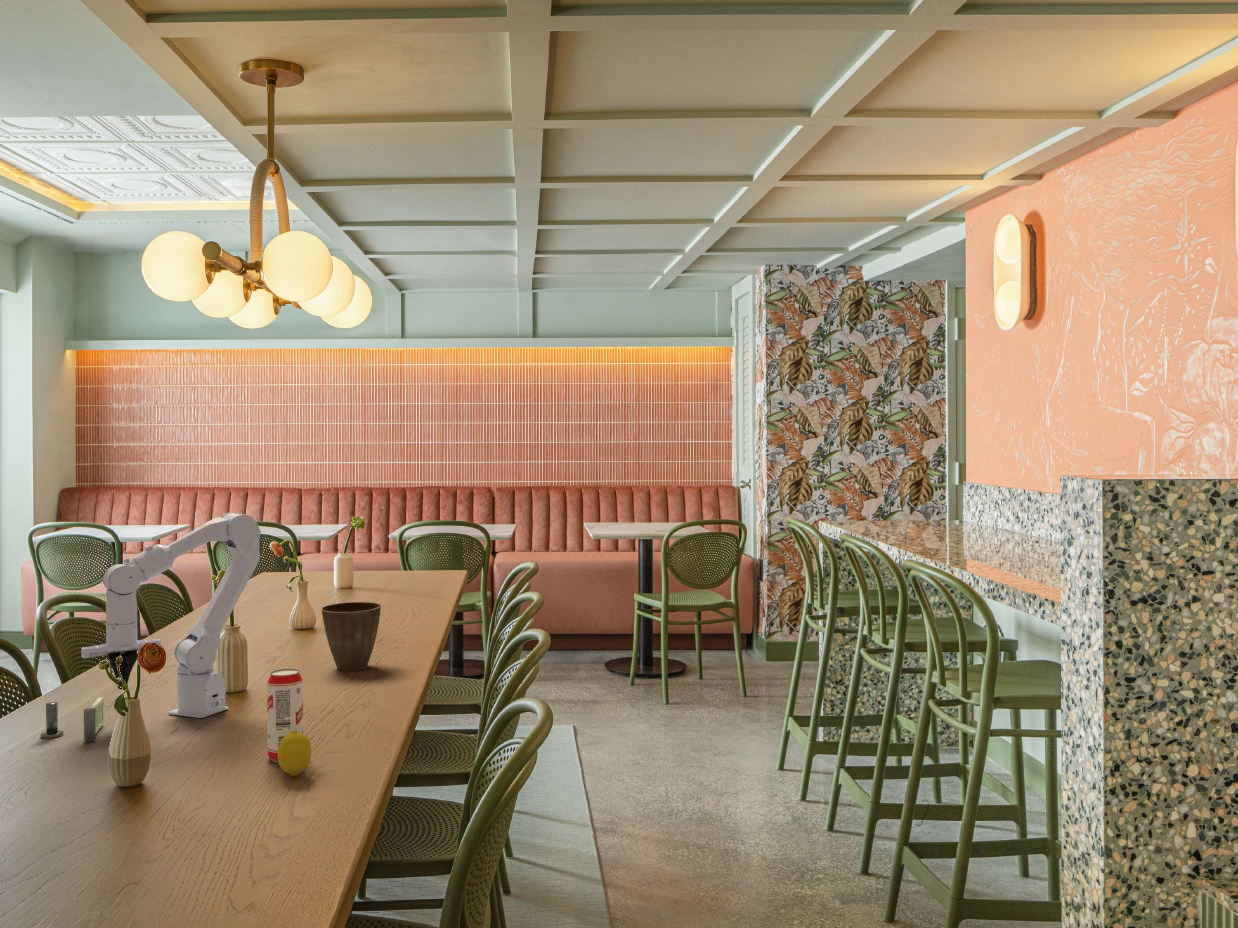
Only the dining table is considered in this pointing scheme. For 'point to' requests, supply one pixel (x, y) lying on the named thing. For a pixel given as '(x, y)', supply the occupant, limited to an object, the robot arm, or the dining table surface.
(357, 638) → the plant pot
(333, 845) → the dining table surface
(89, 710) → the gate
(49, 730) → the post
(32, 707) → the dining table surface
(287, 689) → the beer can
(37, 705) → the dining table surface
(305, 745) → the lemon
